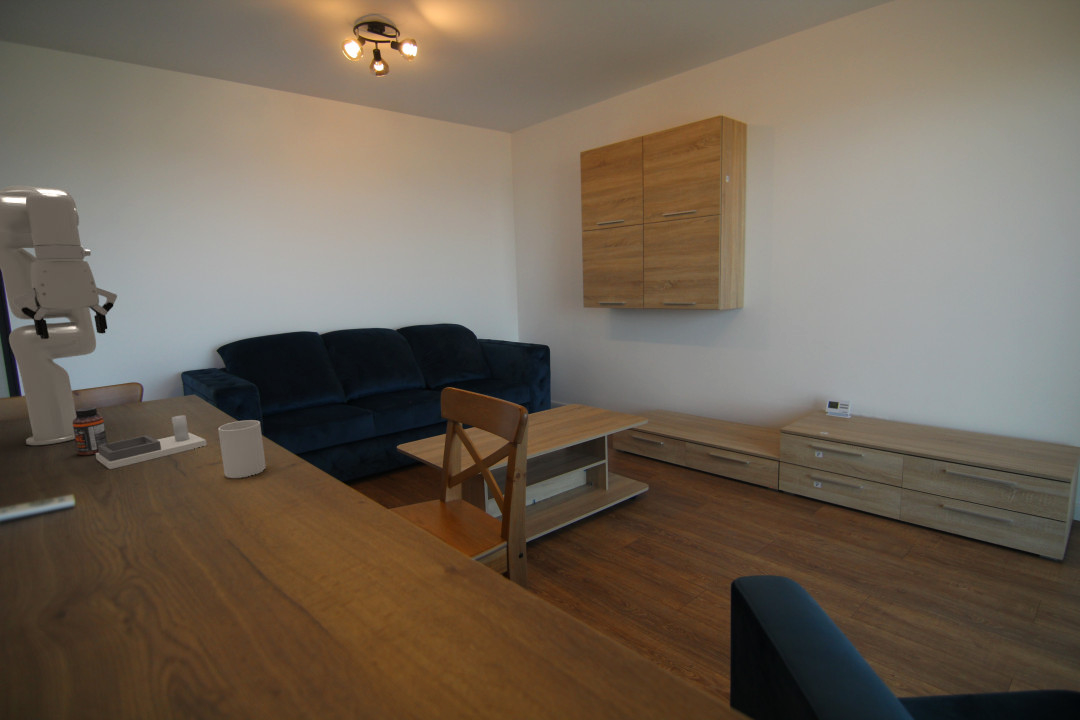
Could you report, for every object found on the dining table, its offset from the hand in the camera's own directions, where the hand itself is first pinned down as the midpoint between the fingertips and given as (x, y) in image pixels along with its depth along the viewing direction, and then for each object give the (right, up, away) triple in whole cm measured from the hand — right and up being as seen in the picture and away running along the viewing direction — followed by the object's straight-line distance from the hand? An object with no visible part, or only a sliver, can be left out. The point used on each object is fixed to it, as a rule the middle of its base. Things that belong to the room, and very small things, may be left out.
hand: (74, 335), depth 118 cm
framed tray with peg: (+5, -28, +17) cm, 33 cm away
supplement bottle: (-12, -29, +19) cm, 37 cm away
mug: (+35, -30, +2) cm, 46 cm away
